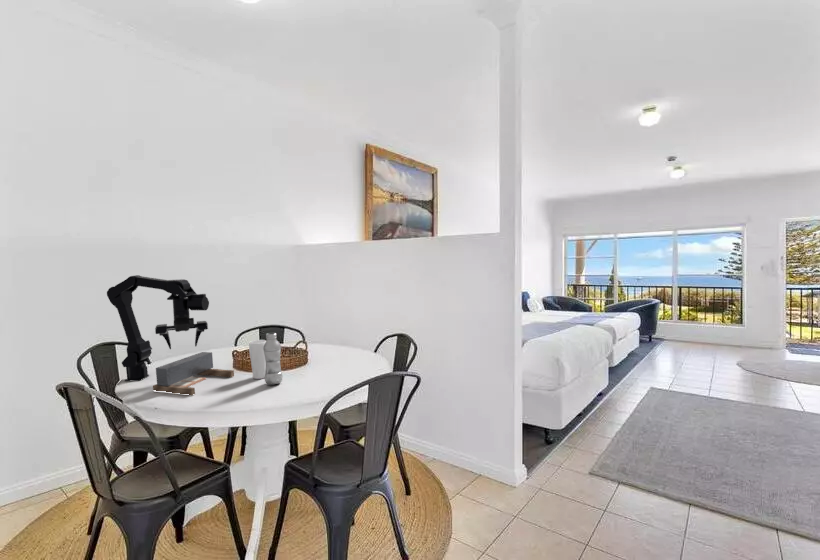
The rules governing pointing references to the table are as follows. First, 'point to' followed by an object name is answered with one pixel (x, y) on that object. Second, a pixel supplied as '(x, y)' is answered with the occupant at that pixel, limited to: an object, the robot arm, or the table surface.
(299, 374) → the table surface
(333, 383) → the table surface
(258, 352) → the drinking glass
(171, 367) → the arm
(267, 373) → the plastic bottle
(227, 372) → the rails
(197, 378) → the label tile
